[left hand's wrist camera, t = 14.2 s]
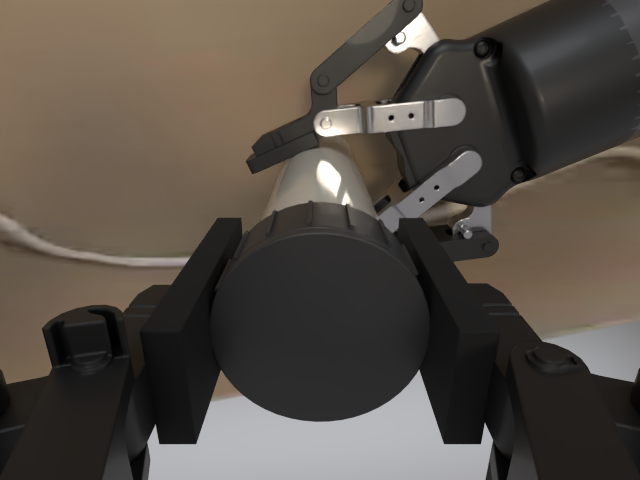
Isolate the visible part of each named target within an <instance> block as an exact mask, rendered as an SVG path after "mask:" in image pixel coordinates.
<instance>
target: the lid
mask: <svg viewBox="0 0 640 480" xmlns="http://www.w3.org/2000/svg"><path fill="white" fill-rule="evenodd" d="M416 275H418V272H417V270H416V268H415V265H414V263H413V261H412V259H411V257H410V255H409V253H408V251H407V249H406V247H405V245H404V244H402V245H401V244H400V243H399V241H398V240H397V238H396V237H395V236H394V235H393V233H392V232H391V231H390V230H389V229H388V228H387V227H386V226H385V225H384V223H383V221H382V220H381V219H379V220H377V219H375V218H374V217H373V216H371V215H369V214H367V213H365V212H363V211H361V210H358V209H356V208H353V207H351V206H350V204H347V203H346V205H342V204H338V203H330V202H313V201H312V200H309V201H308V203H303V204H297V205H294V206H290V207H287V208H284V209H282V210H279V211H277V210H274V211H273V212H272V214H271V215H270V216H268V217H266V218H265V219H263V220H262V221H261V222H259V223H258V224H257V225H256V226H254V227H253V228H252V229H251V231H250V232H248V231H246V232H245V233H244V235H243V237H242V239H241V242H240V244H239V246H238V248H237V250H236V252H235V254H234V256H233V258H232V260H231V259H229V260H228V262H227V264H226V267H225V269H224V271H223V273H222V275H221V277H220V279H219V281H218V283H217V285H216V287H215V290H214V291H215V292H216V295H215V298H214V301H213V304H212V307H211V313H210V329H211V339H212V347H213V352H214V356H215V358H216V360H217V362H218V364H219V367H220V368H221V370H222V371H223V373H224V375H225V376H226V378H227V379H228V380H229V381H230V382H231V384H232V385H233V386H234V387H235V388H236V389H237V390H238V391H239V392H240V393H241V394H243V395H244V396H245V397H246V398H248V399H249V400H251V401H252V402H253V403H255V404H257V405H259V406H260V407H262V408H264V409H266V410H268V411H271V412H273V413H275V414H278V415H281V416H285V417H288V418H292V419H297V420H303V421H315V422H321V421H336V420H343V419H348V418H352V417H356V416H359V415H362V414H365V413H368V412H370V411H372V410H374V409H376V408H378V407H380V406H382V405H383V404H385V403H387V402H388V401H390V400H391V399H392V398H394V397H395V396H396V395H398V394H399V393H400V392H401V391H402V390H403V389H404V388H405V387H406V386H407V385H408V384H409V383H410V381H411V380H412V379H413V378H414V376H415V375H416V374H417V372H418V370H419V368H420V367H421V365H422V363H423V361H424V358H425V356H426V353H427V349H428V341H429V332H430V312H429V307H428V303H427V300H426V297H425V295H424V292H423V290H422V288H421V286H420V284H419V281H418V279H417V277H416Z"/></svg>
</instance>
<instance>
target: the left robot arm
mask: <svg viewBox="0 0 640 480" xmlns="http://www.w3.org/2000/svg"><path fill="white" fill-rule="evenodd" d="M241 239H242V223H241V218H217V220H216V221H215V223H214V224H213V226H212V227H211V229H210V230H209V231H208V233H207V234H206V236H205V237H204V239H203V240H202V242H201V243H200V244H199V246H198V247H197V249H196V250H195V252H194V253H193V255H192V256H191V257H190V259H189V260H188V262H187V263H186V265H185V266H184V268H183V269H182V270H181V272H180V273H179V275H178V276H177V278H176V279H175V281H174V282H173V283H172V285H153V286H151V287H149V288H148V289H146V290H144V291H143V292H141V293H139V294H138V295H137V296H136V297H135V299H134V300H133V301H132V302H131V304H130V305H129V308H126V310H125V311H124V312H123V313H122V311H120V310H119V309H118V308H116V307H113V306H108V305H91V306H86V307H81V308H76V309H73V310H71V311H68V312H65V313H62V314H60V315H59V316H57V317H55V318H53V319H52V320H50V321H49V322H48V323H47V324H46V325H45V326H44V327H43V328H42V331H43V335H44V338H45V342H46V346H47V349H48V353H49V357H50V360H51V364H52V367H53V368H52V370H51V372H50V374H49V376H45V377H41V378H36V379H31V380H26V381H21V382H16V383H11V384H6V381H5V378H4V375H3V372H2V370H0V480H148V475H149V466H150V455H149V449H148V444H147V441H148V439H149V437H150V435H151V433H152V430H153V428H154V426H155V424H156V428H157V433H158V439H159V444H196V443H197V440H198V437H199V433H200V431H201V428H202V425H203V422H204V419H205V415H206V413H207V410H208V407H209V404H210V401H211V398H212V395H213V392H214V389H215V385H216V382H217V379H218V376H219V373H220V370H221V368H220V367H219V364H218V362H217V360H216V358H215V356H214V352H213V347H212V339H211V329H210V313H211V307H212V304H213V301H214V298H215V295H216V292H215V291H214V290H215V287H216V285H217V283H218V281H219V279H220V277H221V275H222V273H223V271H224V269H225V267H226V264H227V262H228V260H229V259H231V260H232V258H233V256H234V254H235V252H236V250H237V248H238V246H239V244H240V242H241ZM398 241H399V243H400V244H401V245H402V244H404V245H405V247H406V249H407V251H408V253H409V255H410V257H411V259H412V261H413V263H414V265H415V268H416V270H417V272H418V275H416V277H417V279H418V281H419V284H420V286H421V288H422V290H423V292H424V295H425V297H426V300H427V303H428V307H429V312H430V332H429V341H428V349H427V353H426V356H425V358H424V361H423V363H422V365H421V367H420V368H419V370H420V373H421V376H422V379H423V382H424V385H425V388H426V391H427V394H428V397H429V400H430V403H431V406H432V409H433V412H434V415H435V418H436V421H437V424H438V427H439V430H440V433H441V436H442V439H443V442H444V444H481V440H482V435H483V429H484V423H486V425H487V428H488V430H489V432H490V434H491V436H492V438H493V444H492V449H491V454H490V459H489V465H488V470H487V475H486V480H640V368H639V370H638V373H637V376H636V380H635V382H629V381H624V380H619V379H614V378H609V377H603V376H599V375H595V374H591V373H590V371H589V369H588V367H587V366H586V364H585V363H584V362H583V361H582V359H581V358H579V357H578V356H576V355H575V354H574V353H572V352H571V351H569V350H567V349H565V348H562V347H560V346H557V345H555V344H551V343H546V342H542V340H541V339H540V338H539V337H538V336H537V334H536V333H535V332H534V331H533V329H532V328H531V327H530V326H529V325H528V323H527V322H526V321H525V320H524V318H523V317H522V316H521V315H519V312H518V311H517V310H516V309H515V308H514V306H512V304H511V303H510V301H509V300H508V299H507V298H506V297H505V295H504V294H503V293H502V292H500V291H498V290H497V289H495V288H494V287H492V286H490V285H489V284H468V283H467V282H466V280H465V279H464V277H463V276H462V274H461V273H460V272H459V270H458V269H457V267H456V266H455V264H454V263H453V261H452V260H451V259H450V257H449V256H448V254H447V253H446V251H445V250H444V248H443V247H442V246H441V244H440V243H439V241H438V240H437V238H436V237H435V235H434V234H433V233H432V231H431V230H430V228H429V227H428V225H427V224H426V222H425V221H424V220H423V218H399V227H398Z"/></svg>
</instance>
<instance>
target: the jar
mask: <svg viewBox="0 0 640 480" xmlns="http://www.w3.org/2000/svg"><path fill="white" fill-rule="evenodd" d="M309 200H312V201H313V202H330V203H338V204H342V205H346V203H347V204H350V206H351V207H353V208H356V209H358V210H361V211H363V212H365V213H367V214H369V215H371V216H373V217H374V218H375V219H377V220H379V218H378V216H377V213H376V211H375V208H374V205H373V203H372V200H371V198H370V195H369V193H368V190H367V188H366V185H365V183H364V180H363V178H362V175H361V173H360V170H359V168H358V165H357V162H356V160H355V157H354V155H353V152H352V150H351V148H350V146H349V145H348V143H347V142H346V141H345V140H344V139H343V138H342V137H341V136H339V135H338V136H328V137H323V138H321V139H319V145H317V146H315V147H313V148H311V149H309V150H306V151H304V152H301V153H299V154H297V155H295V156H293V157H291V158H289V159H286V160H284V163H283V165H282V168H281V170H280V173H279V175H278V178H277V180H276V183H275V185H274V188H273V190H272V193H271V195H270V198H269V201H268V203H267V206H266V208H265V211H264V213H263V216H262V218H261V221H262V220H263V219H265V218H266V217H268V216H270V215H271V214H272V212H273V211H274V210H277V211H279V210H282V209H284V208H287V207H290V206H294V205H297V204H303V203H308V201H309ZM261 221H260V222H261Z"/></svg>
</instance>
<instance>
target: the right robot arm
mask: <svg viewBox="0 0 640 480" xmlns="http://www.w3.org/2000/svg"><path fill="white" fill-rule="evenodd" d="M422 7H423V1H422V0H392V1H391V2H390V3H389V4H388V5H387V6H386V7H384V8H383V9H382V10H381V11H380V12H379V13H378V14H377V15H376V16H374V17H373V18H372V19H371V20H370V21H369V22H368V23H367V24H365V25H364V26H363V27H362V28H361V29H360V30H359V31H358V32H357V33H355V34H354V35H353V36H352V37H351V38H350V39H349V40H348V41H346V42H345V43H344V44H343V45H342V46H341V47H340V48H339V49H337V50H336V51H335V52H334V53H333V54H332V55H331V56H330V57H329V58H327V59H326V60H325V61H324V62H323V63H322V64H321V65H320V66H318V67H317V68H316V69H315V70H314V71H313V73H312V74H311V77H310V84H311V98H312V107H311V109H310V111H309V112H308V113H307V114H306V115H305V116H303V117H301V118H298V119H296V120H294V121H292V122H290V123H288V124H286V125H283V126H281V127H279V128H277V129H275V130H273V131H270V132H268V133H266V134H264V135H262V136H261V137H260V138H259V140H258V141H257V142H256V143H255V144H254V145H253V146H252V149H253V151H254V154H252V155H251V156H250V157H249V158H248V159H247V160H246V163H247V165H248V167H249V169H250V171H251V173H252V174H254V173H257V172H260V171H262V170H264V169H266V168H268V167H271V166H273V165H275V164H277V163H280V162H282V161H284V160H286V159H289V158H291V157H293V156H295V155H297V154H299V153H301V152H304V151H306V150H309V149H311V148H313V147H315V146H317V145H319V139H321V138H323V137H328V136H338V135H347V134H357V133H368V134H369V133H381V132H385V134H386V136H387V139H388V140H389V142H390V143H391V144H392V146H393V147H394V148H395V150H396V152H397V163H398V168H399V170H400V173H401V176H400V177H399V178H398V179H397V180H395V181H394V182H393V183H392V184H391V185H390V186H389V187H388V188H387V189H386V191H385V193H384V194H383V195H382V196H380V197H379V198H378V199H377V200H376V201H374V202H373V205H374V208H375V211H376V213H377V216H378V218H379V219H381V220H382V221H383V223H384V225H385V226H386V227H387V228H388V229H389V230H390V231H391V232H392V233H393V235H394V236H395V237H396V238H397V240H398V231H396V230H397V229H398V227H399V218H418V217H419V216H420V215H421V214H423V213H424V212H425V211H426V210H428V209H429V208H430V207H431V206H433V205H434V204H435V203H436V202H438V201H439V200H445V201H450V202H454V203H459V204H464V205H468V206H467V208H466V210H465V211H464V212H462V213H460V214H457V215H454V216H453V217H452V218H451V219H450V220H449V222H448V224H447V225H439V226H432V227H429V228H430V230H431V231H432V233H433V234H434V235H435V237H436V238H437V240H438V241H439V243H440V244H441V246H442V247H443V248H444V250H445V251H446V253H447V254H448V256H449V257H450V259H451V260H452V261H453V262H454V261H461V260H469V259H476V258H484V257H490V256H492V255H494V254H495V253H496V252H497V250H498V247H499V243H498V240H497V239H496V238H495V237H494V236H493V235H492V233H491V205H492V204H494V203H495V202H496V201H498V200H499V199H500V198H501V197H502V195H503V194H504V193H505V192H506V191H508V190H509V189H510V188H512V187H513V186H515V185H517V184H520V183H523V182H526V181H529V180H533V179H536V178H539V177H541V176H543V175H546V174H548V173H551V172H553V171H556V170H558V169H561V168H563V167H566V166H568V165H571V164H573V163H576V162H578V161H580V160H583V159H585V158H588V157H590V156H593V155H595V154H598V153H600V152H603V151H605V150H608V149H610V148H613V147H615V146H618V145H620V144H622V143H625V142H627V141H630V140H632V139H635V138H637V137H639V136H640V0H550V1H548V2H545V3H543V4H541V5H539V6H537V7H535V8H533V9H531V10H528V11H526V12H524V13H522V14H520V15H518V16H515V17H513V18H511V19H509V20H507V21H505V22H502V23H500V24H498V25H496V26H494V27H492V28H489V29H487V30H485V31H483V32H481V33H479V34H477V35H474V36H472V37H470V38H467V39H465V40H453V39H443V40H440V39H439V38H438V36H437V35H436V33H435V32H434V30H433V29H432V27H431V26H430V24H429V23H428V21H427V20H426V18H425V17H424V15H423V14H422V12H421V11H422ZM382 47H384V49H385V50H386V51H387V52H389V53H391V54H396V53H401V52H403V51H405V50H406V49H414V50H416V51H417V52H418V53H419V55H418V57H417V59H416V60H415V62H414V64H413V65H412V67H411V69H410V70H409V72H408V73H407V75H406V77H405V78H404V80H403V82H402V83H401V85H400V87H399V88H398V90H397V92H396V93H395V95H394V96H393V98H391V99H382V100H373V101H364V102H358V103H352V104H342V105H337V88H336V87H337V86H338V85H340V84H341V83H342V82H343V81H344V80H345V79H347V78H348V77H349V76H350V75H351V74H352V73H353V72H355V71H356V70H357V69H358V68H359V67H360V66H361V65H363V64H364V63H365V62H366V61H367V60H368V59H370V58H371V57H372V56H373V55H374V54H375V53H376V52H378V51H379V50H380V49H381V48H382ZM421 197H422V198H421ZM420 198H421V199H420ZM394 231H395V232H394Z"/></svg>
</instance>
